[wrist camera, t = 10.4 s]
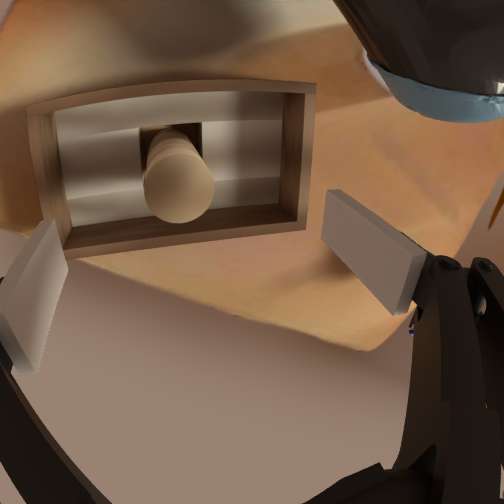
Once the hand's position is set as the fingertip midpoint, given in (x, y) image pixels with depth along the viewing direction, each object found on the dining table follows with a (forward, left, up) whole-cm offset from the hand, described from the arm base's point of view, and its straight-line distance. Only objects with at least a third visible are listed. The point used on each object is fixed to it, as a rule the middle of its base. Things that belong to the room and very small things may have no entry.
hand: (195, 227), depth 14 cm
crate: (0, 0, -20) cm, 20 cm away
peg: (0, 0, -20) cm, 20 cm away
